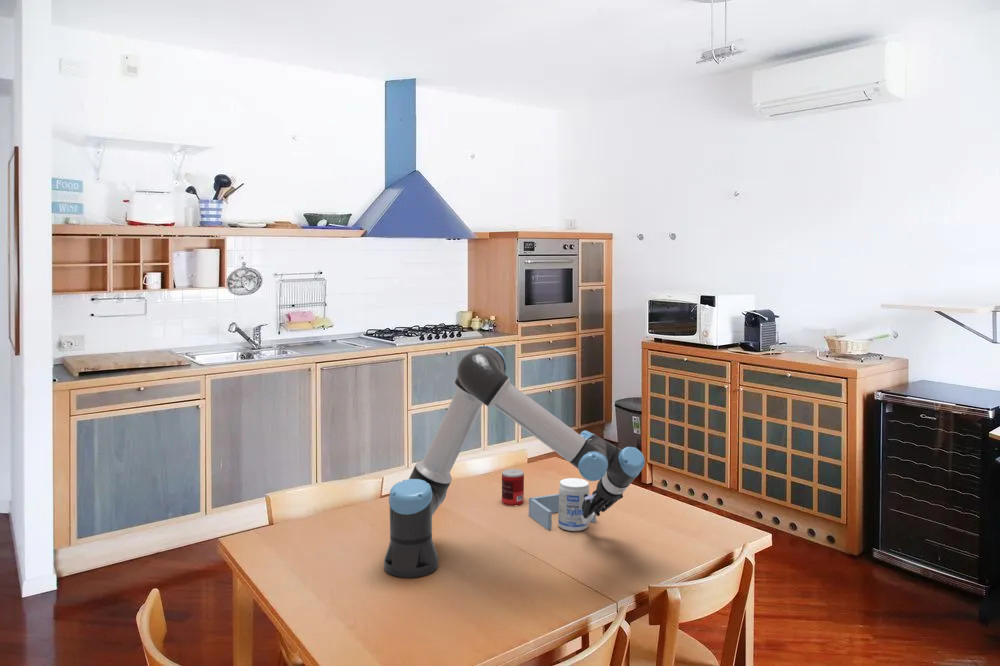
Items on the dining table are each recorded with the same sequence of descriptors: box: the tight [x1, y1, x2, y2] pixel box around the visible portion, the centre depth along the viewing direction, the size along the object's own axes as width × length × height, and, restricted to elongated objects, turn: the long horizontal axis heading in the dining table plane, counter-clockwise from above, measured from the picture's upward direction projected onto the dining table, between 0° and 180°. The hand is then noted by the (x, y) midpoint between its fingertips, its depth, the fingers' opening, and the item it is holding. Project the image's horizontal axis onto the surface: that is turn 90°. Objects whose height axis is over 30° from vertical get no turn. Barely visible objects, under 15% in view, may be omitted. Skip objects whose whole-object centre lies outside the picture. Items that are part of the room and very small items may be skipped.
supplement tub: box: [557, 477, 590, 532], centre depth 239 cm, size 10×10×15 cm
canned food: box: [501, 468, 525, 506], centre depth 262 cm, size 8×8×11 cm
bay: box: [528, 493, 597, 531], centre depth 246 cm, size 14×17×6 cm
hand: (584, 520), depth 234 cm, fingers closed
